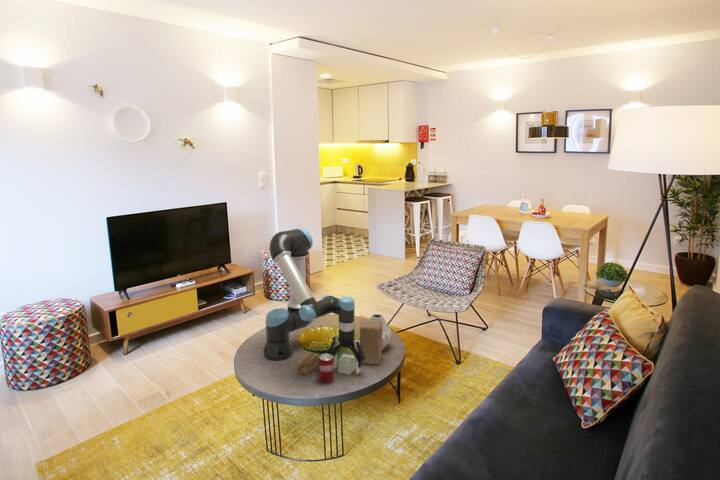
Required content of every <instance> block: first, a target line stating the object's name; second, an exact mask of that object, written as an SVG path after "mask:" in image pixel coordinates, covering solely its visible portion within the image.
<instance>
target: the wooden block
mask: <svg viewBox="0 0 720 480" xmlns="http://www.w3.org/2000/svg"><path fill="white" fill-rule="evenodd" d="M359 340H360V341H361V347H362V350H363V352H364V355H365V360H364V361H362V364H367V365H374V366H375V365H377V366H378V365H380V362H381V358H382V356H383V355H382V353H383V350H382V322H381V321H371V320H369V319H364V320H362V323H361V325H360V327H359Z"/></svg>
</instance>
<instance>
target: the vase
mask: <svg viewBox="0 0 720 480" xmlns="http://www.w3.org/2000/svg"><path fill="white" fill-rule="evenodd" d="M368 320H371V321H381V322H382V351H384V349H385V348H386V346H387V345H388V343H389V342H390V339H391V337H392V336H393V333H392V330H391V328H390V327H389V326H388V323H387V321H386V320H385V318H384V315H382V314H380V313H373V314H371V316H370V317H369V319H368Z"/></svg>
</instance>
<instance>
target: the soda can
mask: <svg viewBox="0 0 720 480" xmlns="http://www.w3.org/2000/svg"><path fill="white" fill-rule="evenodd" d="M317 367H318V370H317V372H318V381H319V383H321V384H324V385H327V384H331V383H333V382H334V380H335V369H334V357H333V355H331V354H328V353H322V354H321V355H318V365H317Z"/></svg>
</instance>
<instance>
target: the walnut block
mask: <svg viewBox="0 0 720 480" xmlns="http://www.w3.org/2000/svg"><path fill="white" fill-rule="evenodd" d="M318 358H319V353H316V352H310V351H309V352H308V353H306V355H304V356H303V357H302V358H301V359H299V361H297V366H296V367H297V375H298V374H299V375H303V376H306V377H307V376H308V375H309V374H310V373H311V372H312V371H314V369H315V368H316V367H318Z"/></svg>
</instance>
